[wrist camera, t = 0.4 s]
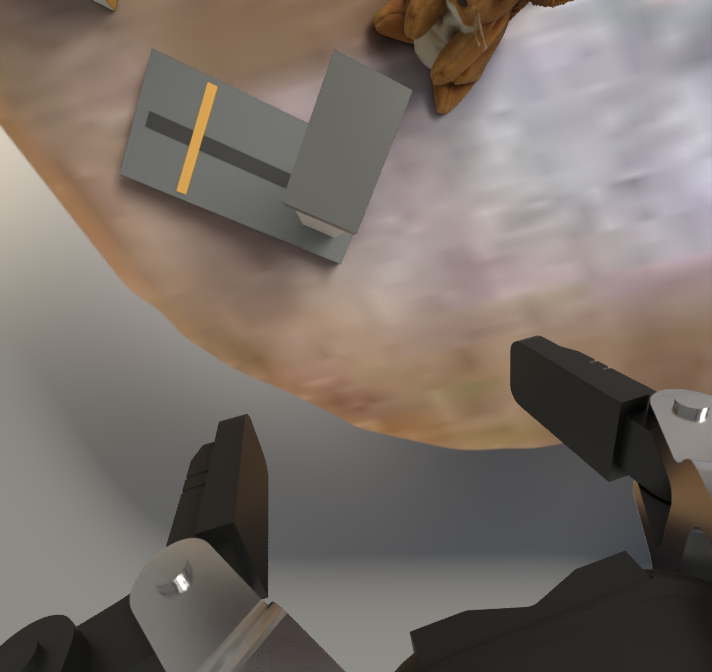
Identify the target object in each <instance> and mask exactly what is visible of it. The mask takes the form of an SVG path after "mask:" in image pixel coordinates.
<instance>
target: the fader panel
mask: <svg viewBox="0 0 712 672" xmlns="http://www.w3.org/2000/svg"><path fill="white" fill-rule="evenodd" d="M308 124H309V123H307V122H305V121H303V120H301V119H299V118H296V117H294V116H292V115H290V114H288V113H286V112H284V111H282V110H280V109H278V108H276V107H273V106H271V105H269V104H267V103H265V102H263V101H261V100H259V99H257V98H255V97H253V96H251V95H248V94H246V93H244V92H242V91H240V90H238V89H236V88H234V87H232V86H230V85H228V84H225V83H223V82H221V81H219V80H217V79H215V78H213V77H211V76H209V75H207V74H205V73H203V72H200V71H198V70H196V69H194V68H192V67H190V66H188V65H186V64H184V63H182V62H180V61H177V60H175V59H173V58H171V57H169V56H167V55H165V54H163V53H161V52H159V51H157V50H155V49H152V50H151V54H150V57H149V61H148V65H147V69H146V73H145V77H144V81H143V85H142V89H141V92H140V96H139V100H138V104H137V108H136V112H135V116H134V120H133V124H132V128H131V131H130V135H129V139H128V143H127V147H126V151H125V155H124V159H123V163H122V166H121V170H120V174H121V175H123V176H126V177H128V178H131V179H133V180H136V181H138V182H140V183H143V184H145V185H148V186H150V187H153V188H155V189H158V190H160V191H162V192H165V193H167V194H170V195H172V196H175V197H177V198H180V199H182V200H185V201H187V202H189V203H192V204H194V205H197V206H199V207H202V208H204V209H207V210H209V211H211V212H214V213H216V214H219V215H221V216H224V217H226V218H229V219H231V220H234V221H236V222H238V223H241V224H243V225H246V226H248V227H251V228H253V229H256V230H258V231H260V232H263V233H265V234H268V235H270V236H273V237H275V238H278V239H280V240H283V241H285V242H287V243H290V244H292V245H295V246H297V247H300V248H302V249H305V250H307V251H309V252H312V253H314V254H317V255H319V256H322V257H324V258H327V259H329V260H332V261H334V262H336V263H339V264H341V263H342V261H343V258H344V255H345V253H346V250H347V248H348V245H349V242H350V240H351V237H352V234H350V233H347V232H343V233H341V234H340V235H338V236H336V237H331V236H329V235H327V234H324V233H322V232H319V231H317V230H315V229H312V228H310V227H308V226H305V225H303V224H302V222H301V220H300V218H299V216H298V214H297V213H296V211H295V210H293V209H291V208H289V207H286V206H285V205H284V204H283V203H282V200H283V197H284V194H285V191H286V188H287V185H288V182H289V179H290V176H291V173H292V171H293V168H294V165H295V162H296V159H297V156H298V153H299V150H300V147H301V144H302V142H303V139H304V136H305V133H306V130H307V127H308Z"/></svg>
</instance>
